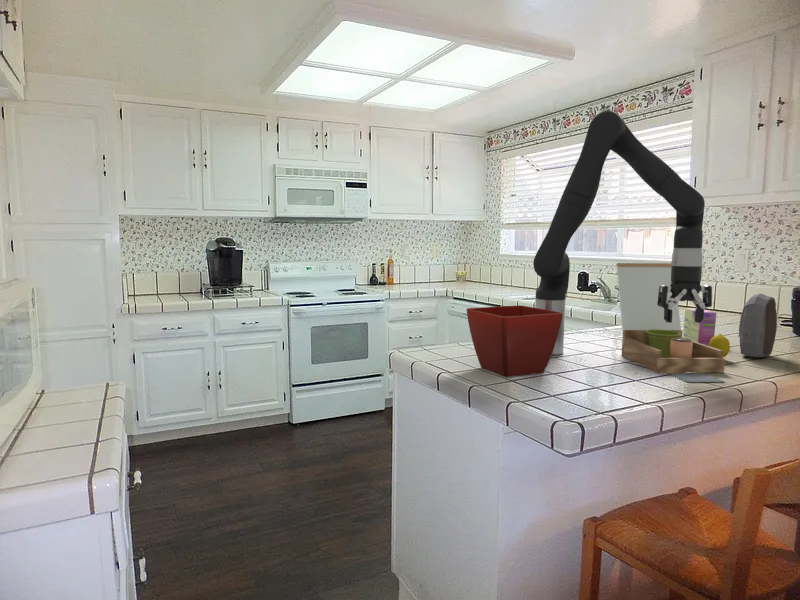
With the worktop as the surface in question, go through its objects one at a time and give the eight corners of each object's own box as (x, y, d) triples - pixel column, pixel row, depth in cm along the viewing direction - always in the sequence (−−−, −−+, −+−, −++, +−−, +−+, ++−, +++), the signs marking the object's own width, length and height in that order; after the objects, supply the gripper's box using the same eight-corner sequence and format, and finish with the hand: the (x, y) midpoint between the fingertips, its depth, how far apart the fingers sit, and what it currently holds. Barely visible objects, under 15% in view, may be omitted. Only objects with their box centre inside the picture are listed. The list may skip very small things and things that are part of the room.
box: (714, 346, 186) (716, 312, 185) (697, 345, 186) (700, 311, 185) (698, 340, 197) (700, 308, 195) (682, 340, 197) (684, 308, 195)
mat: (686, 382, 138) (686, 381, 137) (669, 374, 145) (669, 373, 145) (724, 382, 138) (725, 381, 138) (706, 374, 146) (706, 373, 146)
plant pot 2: (684, 364, 158) (686, 334, 157) (652, 363, 159) (654, 334, 158) (669, 357, 168) (671, 329, 167) (639, 356, 168) (640, 329, 167)
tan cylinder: (675, 370, 150) (677, 341, 149) (664, 365, 156) (666, 337, 155) (695, 370, 151) (697, 341, 150) (683, 365, 156) (685, 337, 155)
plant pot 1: (463, 366, 154) (464, 307, 152) (519, 360, 161) (521, 304, 159) (501, 382, 136) (503, 316, 134) (562, 375, 144) (564, 313, 142)
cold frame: (658, 373, 147) (660, 344, 146) (621, 355, 169) (622, 330, 168) (724, 373, 148) (726, 344, 147) (678, 355, 170) (680, 330, 169)
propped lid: (622, 356, 169) (627, 264, 166) (606, 348, 181) (610, 262, 177) (679, 356, 170) (685, 264, 167) (659, 348, 181) (665, 262, 178)
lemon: (727, 359, 166) (729, 333, 165) (729, 362, 161) (732, 336, 160) (707, 357, 168) (708, 331, 167) (708, 360, 163) (710, 334, 162)
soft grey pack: (759, 361, 162) (765, 295, 160) (729, 356, 169) (734, 293, 167) (776, 355, 172) (781, 292, 170) (746, 350, 178) (751, 290, 176)
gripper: (668, 265, 146) (665, 324, 148) (720, 265, 146) (716, 324, 148) (654, 264, 153) (651, 320, 155) (703, 264, 154) (700, 320, 156)
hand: (683, 322), depth 152 cm, fingers open, 8 cm apart
